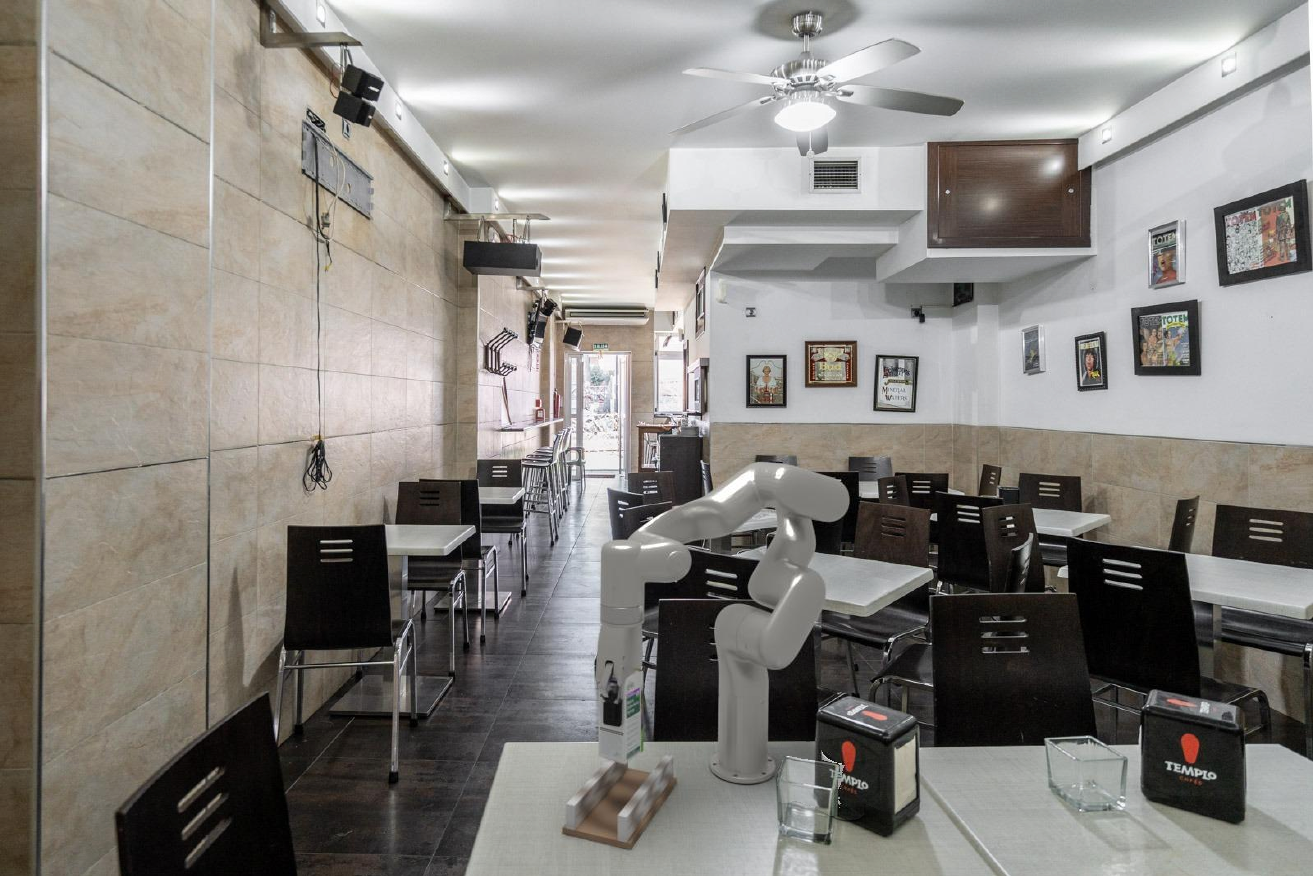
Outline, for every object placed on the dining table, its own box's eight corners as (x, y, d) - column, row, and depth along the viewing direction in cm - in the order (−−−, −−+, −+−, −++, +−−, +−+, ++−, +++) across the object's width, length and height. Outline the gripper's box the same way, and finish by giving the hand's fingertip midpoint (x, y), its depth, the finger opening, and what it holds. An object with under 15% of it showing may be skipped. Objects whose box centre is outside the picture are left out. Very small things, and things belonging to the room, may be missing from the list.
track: (617, 771, 137) (617, 745, 137) (676, 783, 133) (676, 756, 133) (562, 833, 117) (562, 803, 117) (630, 849, 112) (630, 818, 112)
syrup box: (625, 765, 120) (626, 679, 119) (596, 756, 123) (597, 672, 122) (643, 752, 124) (645, 669, 124) (615, 743, 128) (616, 662, 127)
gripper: (622, 599, 132) (621, 695, 133) (579, 624, 116) (578, 733, 117) (660, 603, 130) (659, 702, 130) (622, 629, 113) (620, 741, 114)
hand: (620, 716), depth 123 cm, fingers closed on syrup box, 6 cm apart
